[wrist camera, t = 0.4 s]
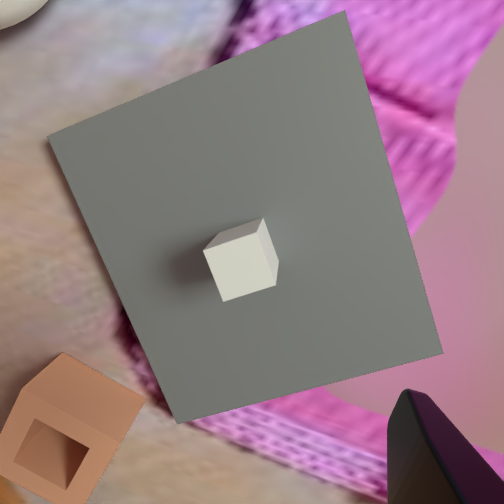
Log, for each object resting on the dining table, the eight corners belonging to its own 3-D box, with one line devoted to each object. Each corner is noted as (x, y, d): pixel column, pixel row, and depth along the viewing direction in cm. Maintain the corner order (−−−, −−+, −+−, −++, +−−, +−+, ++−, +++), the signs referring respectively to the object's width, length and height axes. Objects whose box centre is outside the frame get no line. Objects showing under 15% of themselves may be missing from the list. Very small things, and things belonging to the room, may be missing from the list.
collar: (107, 465, 27) (77, 516, 23) (28, 421, 27) (-16, 466, 23) (146, 399, 26) (120, 442, 22) (62, 352, 26) (21, 388, 22)
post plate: (181, 414, 26) (155, 474, 21) (57, 136, 22) (-8, 133, 17) (437, 345, 23) (475, 396, 18) (342, 17, 20) (358, -28, 15)
